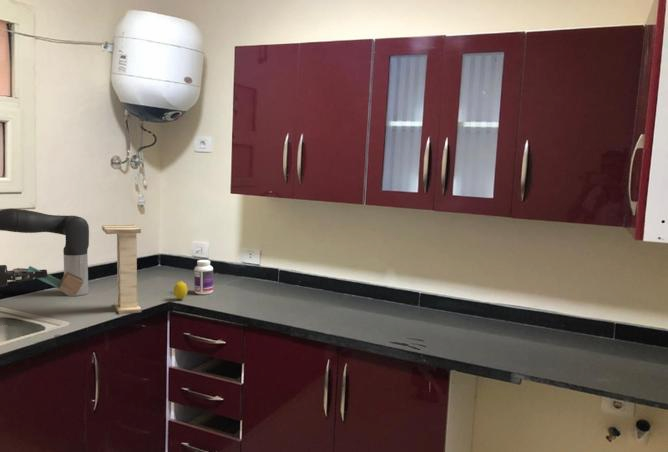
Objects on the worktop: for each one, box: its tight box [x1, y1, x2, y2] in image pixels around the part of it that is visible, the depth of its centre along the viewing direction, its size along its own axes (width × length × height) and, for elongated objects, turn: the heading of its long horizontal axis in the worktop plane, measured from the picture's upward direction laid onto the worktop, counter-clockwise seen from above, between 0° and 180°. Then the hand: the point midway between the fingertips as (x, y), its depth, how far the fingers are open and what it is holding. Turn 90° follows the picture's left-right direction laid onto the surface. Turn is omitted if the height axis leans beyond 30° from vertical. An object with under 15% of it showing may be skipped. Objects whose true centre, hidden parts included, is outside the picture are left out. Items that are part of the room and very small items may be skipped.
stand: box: [101, 224, 142, 315], centre depth 214 cm, size 15×12×32 cm
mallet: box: [27, 265, 83, 298], centre depth 202 cm, size 8×18×6 cm, turn 118°
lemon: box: [173, 280, 188, 301], centre depth 232 cm, size 6×6×8 cm
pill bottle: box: [193, 259, 214, 296], centre depth 244 cm, size 8×8×14 cm
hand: (46, 273), depth 201 cm, fingers closed on mallet, 2 cm apart
